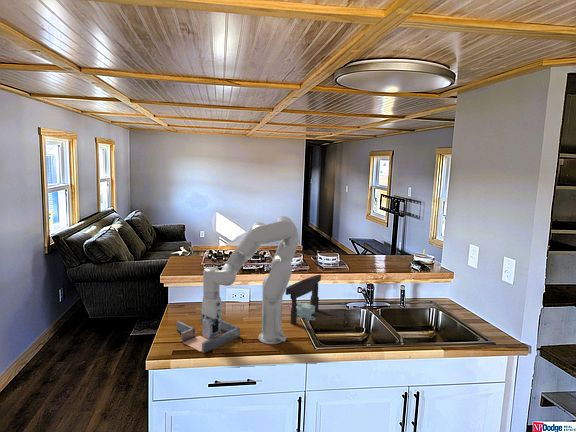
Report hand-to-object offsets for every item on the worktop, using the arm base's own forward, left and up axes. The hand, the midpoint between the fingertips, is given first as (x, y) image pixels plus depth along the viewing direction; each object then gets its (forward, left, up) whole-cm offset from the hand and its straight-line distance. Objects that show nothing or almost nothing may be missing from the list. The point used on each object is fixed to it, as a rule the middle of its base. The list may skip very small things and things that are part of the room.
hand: (211, 329), depth 192 cm
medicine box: (0, 0, -3) cm, 3 cm away
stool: (-16, -52, -5) cm, 54 cm away
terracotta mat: (0, +7, -5) cm, 8 cm away
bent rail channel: (+6, 0, -5) cm, 7 cm away
